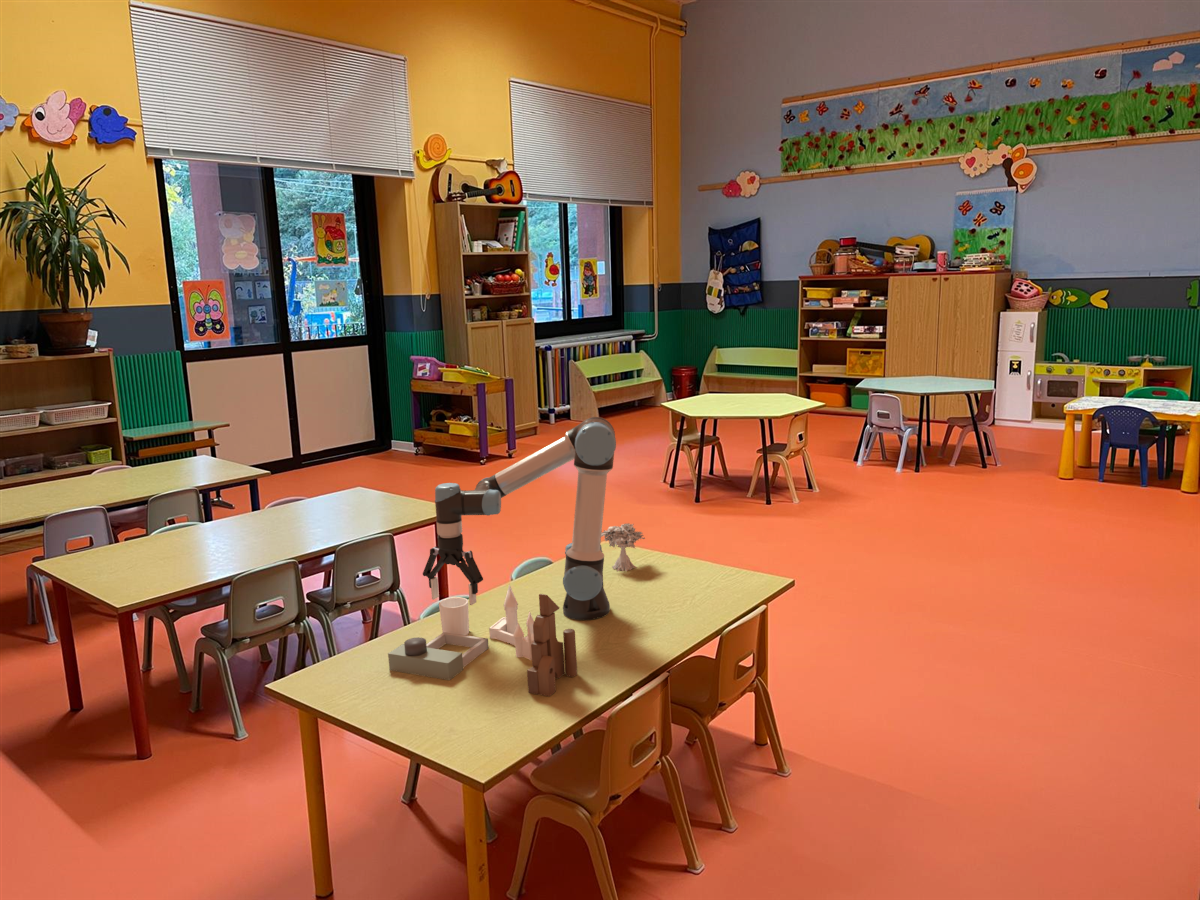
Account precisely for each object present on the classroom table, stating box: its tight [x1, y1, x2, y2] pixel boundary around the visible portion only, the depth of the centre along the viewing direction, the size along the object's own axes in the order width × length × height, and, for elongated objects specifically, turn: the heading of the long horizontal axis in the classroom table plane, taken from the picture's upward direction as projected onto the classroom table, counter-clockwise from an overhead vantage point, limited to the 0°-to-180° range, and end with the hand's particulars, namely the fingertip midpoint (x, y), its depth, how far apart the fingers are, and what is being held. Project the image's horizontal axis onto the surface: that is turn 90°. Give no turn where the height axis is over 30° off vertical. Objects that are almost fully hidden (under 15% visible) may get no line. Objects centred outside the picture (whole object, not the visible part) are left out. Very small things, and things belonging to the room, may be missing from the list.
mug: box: [438, 596, 470, 636], centre depth 273 cm, size 11×9×10 cm
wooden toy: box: [526, 593, 578, 697], centre depth 235 cm, size 16×7×25 cm, turn 152°
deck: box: [387, 632, 489, 681], centre depth 255 cm, size 20×22×8 cm
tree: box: [601, 522, 646, 572], centre depth 327 cm, size 18×16×17 cm
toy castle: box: [488, 583, 539, 661], centre depth 263 cm, size 14×25×16 cm, turn 48°
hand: (454, 600), depth 272 cm, fingers open, 13 cm apart
